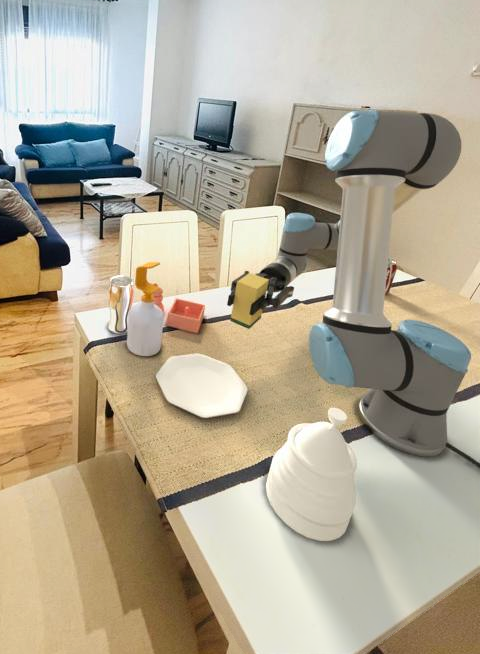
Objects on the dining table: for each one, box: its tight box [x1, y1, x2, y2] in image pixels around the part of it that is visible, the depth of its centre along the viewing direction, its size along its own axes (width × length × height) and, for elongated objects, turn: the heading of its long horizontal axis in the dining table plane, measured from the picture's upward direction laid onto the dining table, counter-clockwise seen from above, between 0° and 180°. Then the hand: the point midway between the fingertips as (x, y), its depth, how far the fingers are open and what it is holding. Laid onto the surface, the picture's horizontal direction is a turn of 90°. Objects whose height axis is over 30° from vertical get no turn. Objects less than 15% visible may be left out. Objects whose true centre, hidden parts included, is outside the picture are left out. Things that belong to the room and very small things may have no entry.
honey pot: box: [265, 407, 358, 542], centre depth 62 cm, size 13×13×18 cm
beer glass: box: [107, 275, 135, 335], centre depth 107 cm, size 7×7×15 cm
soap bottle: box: [126, 261, 165, 357], centre depth 98 cm, size 9×9×25 cm
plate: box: [155, 352, 249, 420], centre depth 89 cm, size 20×20×2 cm
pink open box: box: [151, 283, 206, 334], centre depth 114 cm, size 18×10×10 cm, turn 68°
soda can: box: [385, 257, 398, 295], centre depth 137 cm, size 7×7×12 cm
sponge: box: [229, 272, 269, 330], centre depth 95 cm, size 5×7×11 cm
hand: (240, 305), depth 91 cm, fingers closed on sponge, 5 cm apart
